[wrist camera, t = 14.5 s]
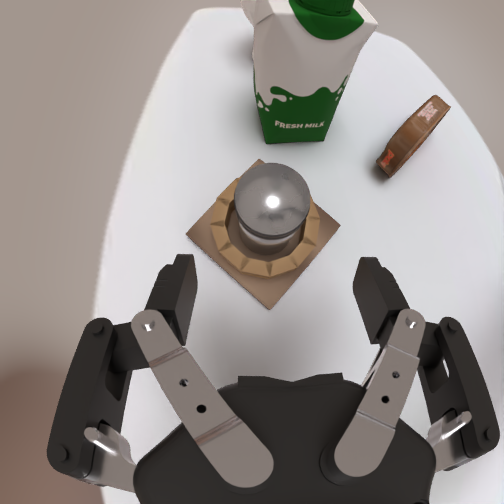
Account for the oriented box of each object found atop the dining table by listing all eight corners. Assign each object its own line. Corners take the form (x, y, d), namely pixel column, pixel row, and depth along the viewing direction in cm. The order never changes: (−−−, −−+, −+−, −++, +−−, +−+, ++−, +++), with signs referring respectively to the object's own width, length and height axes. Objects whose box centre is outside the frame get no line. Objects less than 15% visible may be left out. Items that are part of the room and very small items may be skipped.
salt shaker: (263, 194, 27) (268, 148, 18) (303, 227, 27) (326, 194, 18) (228, 232, 26) (216, 199, 18) (268, 267, 26) (277, 251, 17)
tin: (381, 188, 29) (416, 155, 20) (362, 169, 29) (392, 131, 21) (431, 133, 30) (460, 102, 22) (416, 118, 31) (443, 85, 23)
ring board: (258, 163, 29) (259, 144, 25) (337, 228, 28) (349, 217, 24) (188, 236, 28) (178, 226, 24) (269, 309, 26) (272, 311, 22)
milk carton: (259, 151, 29) (266, -10, 10) (249, 95, 31) (248, -43, 11) (332, 147, 30) (399, 10, 10) (315, 92, 31) (350, -33, 11)
